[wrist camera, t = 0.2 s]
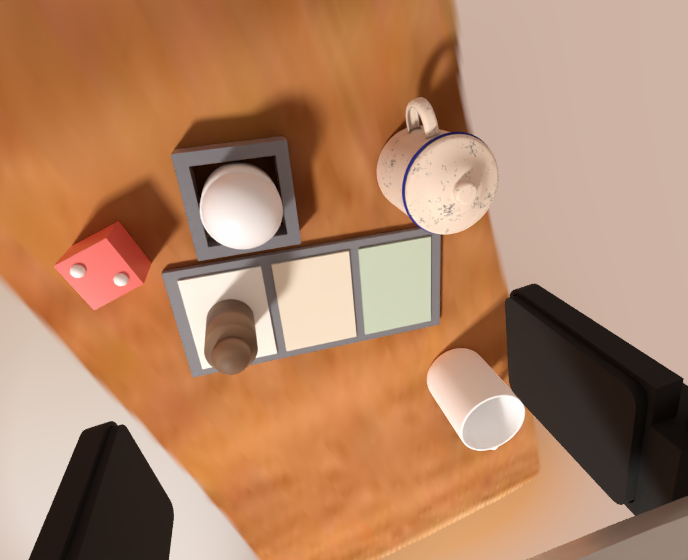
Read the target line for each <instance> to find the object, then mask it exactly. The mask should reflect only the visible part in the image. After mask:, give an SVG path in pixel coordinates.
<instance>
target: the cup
mask: <svg viewBox="0 0 688 560" xmlns="http://www.w3.org/2000/svg"><path fill="white" fill-rule="evenodd" d="M427 385H428V388H429V390H430V392H431V394H432V395H433V397H434V398H435V400H436V402H437V403H438V405H439V406H440V408H441V409H442V411H443V412H444V414H445V415H446V417H447V418H448V420H449V422H450V423H451V425H452V426H453V428H454V429H455V431H456V432H457V434H458V435H459V437H460V438H461V440H462V441H463V443H464V444H465V445H466V446H467V447H469V448H471V449H473V450H480V451H482V450H489V449H491V450H496V449H497V448H498V446H500V445H502V444H504V443H505V442H507V441H508V440H509V439H511V438H512V437H513V436H514V435H515V434H516V433H517V431H518V430H519V429H520V427H521V425H522V423H523V421H524V417H525V408H524V405H523V403H522V402H521V401H520V400H519V399H518V398H517V397H516V395H515V394H514V393H513V391H512V390H511V389H510V388H509V387H508V386H507V385H506V384H505V383H504V381H503V380H502V379H501V378H500V377H499V376H498V375H497V374H496V373H495V372H494V371H493V369H492V368H491V367H490V366H489V365H488V364H487V363H486V362H485V361H484V360H483V358H482V357H481V356H480V355H478V354H477V353H476V352H474V351H473V350H470V349H467V348H455V349H451V350H449V351H446V352H444V353H443V354H441V355H440V356H439V357H438V358H437V359H436V360H435V361H434V362H433V363H432V365H431V366H430V368H429V371H428V375H427Z"/></svg>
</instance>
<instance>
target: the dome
mask: <svg viewBox="0 0 688 560" xmlns="http://www.w3.org/2000/svg"><path fill="white" fill-rule="evenodd" d="M282 216H283V206H282V201H281V198H280V195H279V193H278V191H277V189H276V187H275V184H274V183H273V181H272V179H271V178H270V177H269V175H268V174H267V173H266V172H264V171H263V170H262V169H260V168H259V167H257V166H255V165H252V164H249V163H245V162H232V163H228V164H225V165H222V166H220V167H219V168H217V169H216V170H214V171H213V172H212V173H211V174H210V176H209V177H208V178H207V180H206V182H205V184H204V187H203V190H202V195H201V201H200V217H201V220H202V223H203V225H204V227H205V229H206V231H207V232H208V233H209V234H210V236H211V237H212V238H213V239H215V240H216V241H217V242H219V243H220V244H222V245H224V246H227V247H230V248H234V249H251V248H255V247H258V246H260V245H262V244H264V243H266V242H267V241H268V240H270V239H271V238H272V237H273V236H274V234H275V233H276V232H277V230H278V228H279V226H280V224H281V221H282Z"/></svg>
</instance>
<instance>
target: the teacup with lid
mask: <svg viewBox="0 0 688 560" xmlns="http://www.w3.org/2000/svg"><path fill="white" fill-rule="evenodd" d="M419 115H420V117H421V120H422V123H423V126H420V122H419ZM406 123H407V128H405V129H403V130H401V131H399V132H398V133H396V134H395V135H394V136H393V137H392V138H391V139H390V140H389V141H388V142H387V143H386V145H385V146H384V148H383V149H382V151H381V154H380V156H379V159H378V163H377V180H378V184H379V187H380V189H381V191H382V193H383V195H384V196H385V197H386V198H387V199H388V200H389V201H390V202H391V203H392V204H394V205H395V206H396V207H398V208H399V209H400V210H402V211H403V212H404V213H405V214H407V215H408V216H409V217H410V219H411V220H412V221H413V222H414V223H415V224H416V225H417V226H418V227H419V228H421V229H423V230H425V231H427V232H429V233H433V234H442V235H443V234H453V233H457V232H460V231H463V230H465V229H467V228H468V227H470V226H472V225H473V224H475V223H476V222H477V221H478V220H479V219H480V218H481V217H482V216H483V215H484V214H485V213H486V211H487V210H488V208H489V207H490V205H491V203H492V201H493V199H494V196H495V194H496V190H497V185H498V168H497V163H496V160H495V158H494V155H493V154H492V152H491V150H490V149H489V148H488V146H487V145H486V144H485V143H484V142H483V141H482V140H481V139H479V138H478V137H476V136H474V135H471V134H469V133H464V132H448V131H444V130H440V129H439V128H438V123H437V119H436V115H435V112H434V110H433V108H432V106H431V104H430V103H429V102H428V100H426V99H425V98H423V97H418V98H415V99H413V100H411V101H410V102H409V103H408V105H407V108H406Z"/></svg>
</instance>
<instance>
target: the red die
mask: <svg viewBox="0 0 688 560" xmlns="http://www.w3.org/2000/svg"><path fill="white" fill-rule="evenodd" d="M150 266H151V261H150V260H149V259H148V258H147V256H146V255H145V254H144V252H143V251H142V250H141V249H140V247H139V246H138V245H137V243H136V242H135V241H134V240H133V238H132V237H131V236H130V234H129V233H128V232H127V231H126V229H125V228H124V227H123V226H122V224H121V223H120V222H119V221H117V222H116V223H114V224H112V225H110V226H108V227H106V228H104V229H102V230H101V231H99V232H97V233H95V234H93V235H91V236H89V237H87V238H86V239H84V240H82V241H80V242H78V243H76V244H74V245H72V246H71V247H70V248H69V249H68V251H67V252H66V253H65V254H64V255H63V256H62V257H61V258H60V260H59V261H58V262H57V263H56V264H55V265H54V267H55V268H56V269H57V271H58V272H59V273H60V274H61V275H62V276H63V277H64V278H65V279H66V280H67V281H68V283H69V284H70V285H71V286H72V287H73V288H74V289H75V290H76V291H77V292H78V293H79V295H80V296H81V297H82V298H83V299H84V300H85V301H86V302H87V303H88V304H89V305H90V307H91V308H92V309H93V310H96V309H98V308H99V307H101V306H103V305H105V304H107V303H109V302H111V301H112V300H114V299H116V298H118V297H120V296H122V295H124V294H125V293H127V292H129V291H131V290H133V289H135V288H137V287H139V286H140V285H142V284H144V281H145V279H146V276H147V274H148V271H149V268H150Z"/></svg>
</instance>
